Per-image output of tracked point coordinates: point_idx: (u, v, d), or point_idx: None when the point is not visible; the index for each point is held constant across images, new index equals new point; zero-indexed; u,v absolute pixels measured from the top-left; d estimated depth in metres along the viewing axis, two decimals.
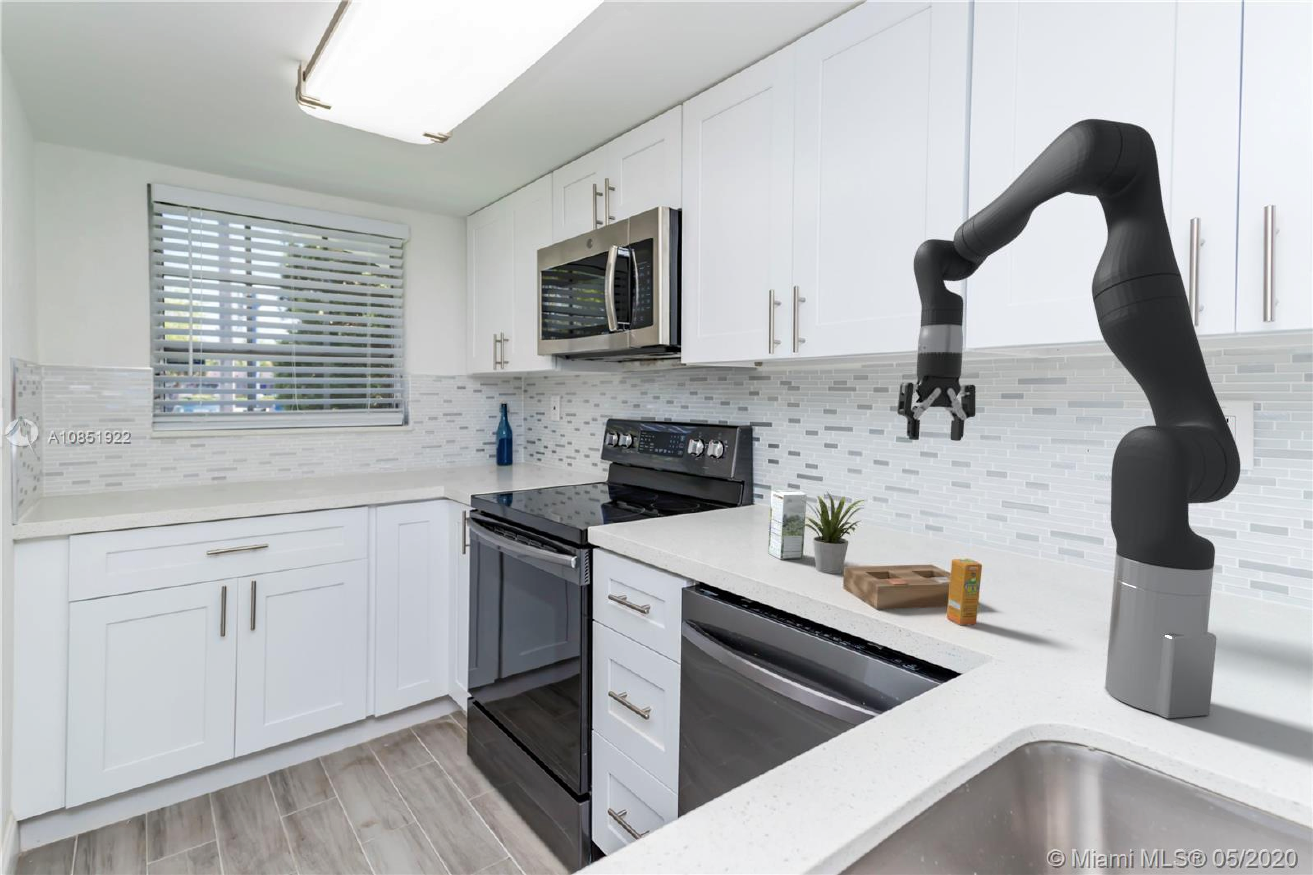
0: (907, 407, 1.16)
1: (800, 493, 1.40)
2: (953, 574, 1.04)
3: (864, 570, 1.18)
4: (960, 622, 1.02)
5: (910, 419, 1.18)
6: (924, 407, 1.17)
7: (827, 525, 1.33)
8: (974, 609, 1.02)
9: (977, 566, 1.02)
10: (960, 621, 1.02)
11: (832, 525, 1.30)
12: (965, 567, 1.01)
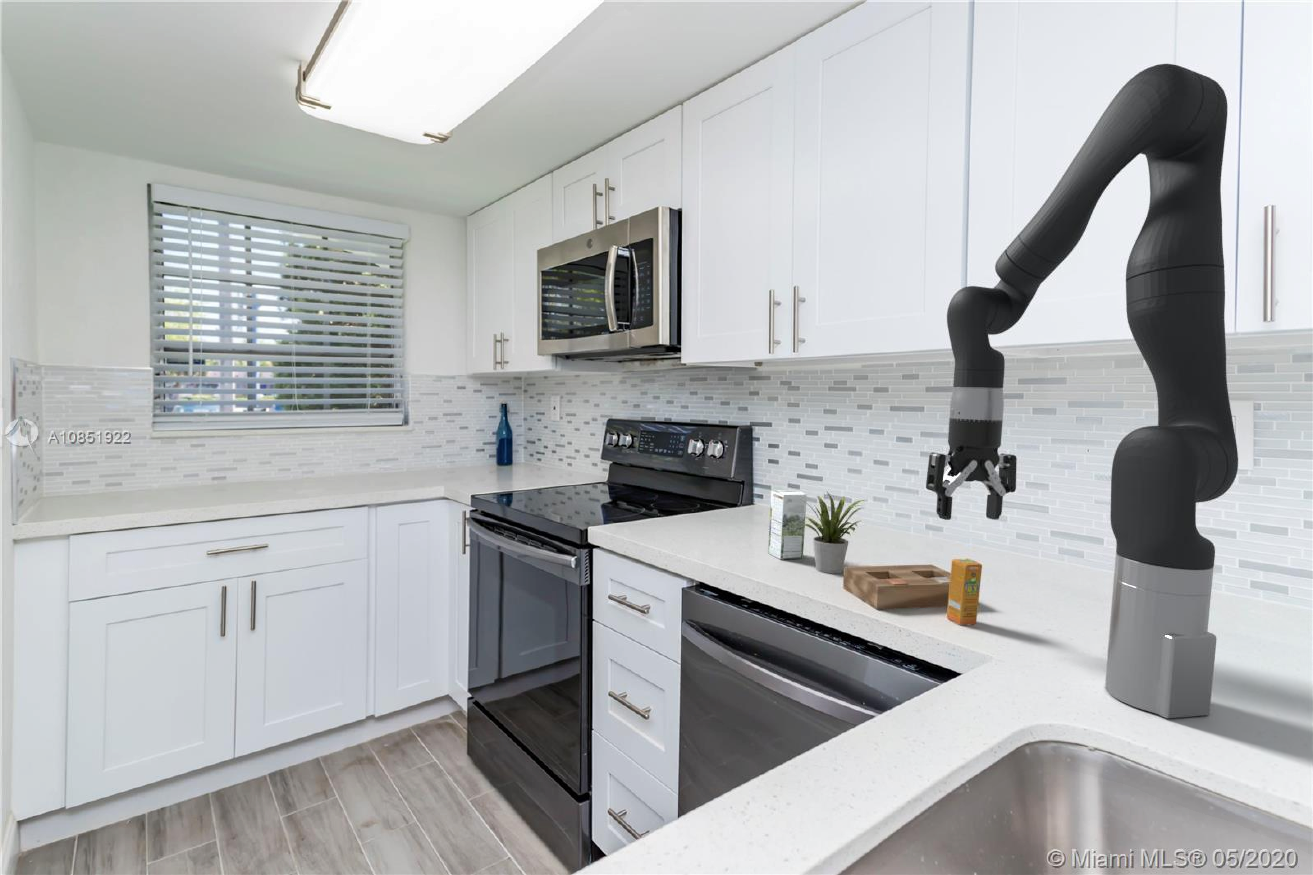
0: (938, 483, 1.00)
1: (800, 493, 1.40)
2: (953, 574, 1.04)
3: (864, 570, 1.18)
4: (960, 622, 1.02)
5: (941, 496, 1.01)
6: (958, 482, 1.00)
7: (827, 525, 1.33)
8: (974, 609, 1.02)
9: (977, 566, 1.02)
10: (960, 621, 1.02)
11: (832, 525, 1.30)
12: (965, 568, 1.01)
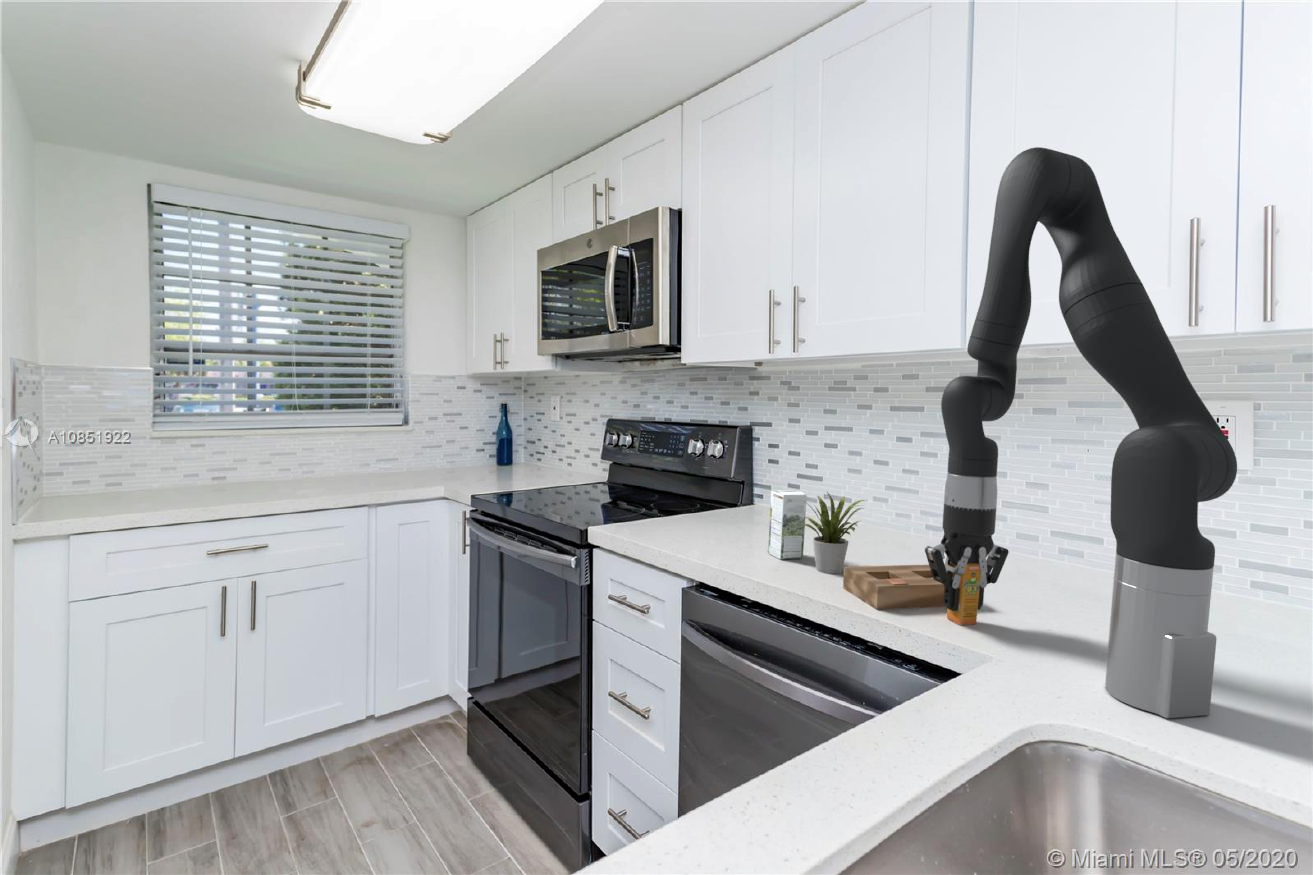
0: (943, 576, 1.01)
1: (800, 493, 1.40)
2: None
3: (864, 570, 1.18)
4: (960, 622, 1.02)
5: (948, 587, 1.02)
6: (960, 573, 1.01)
7: (827, 525, 1.33)
8: (974, 609, 1.02)
9: (977, 566, 1.02)
10: (960, 621, 1.02)
11: (832, 525, 1.30)
12: None
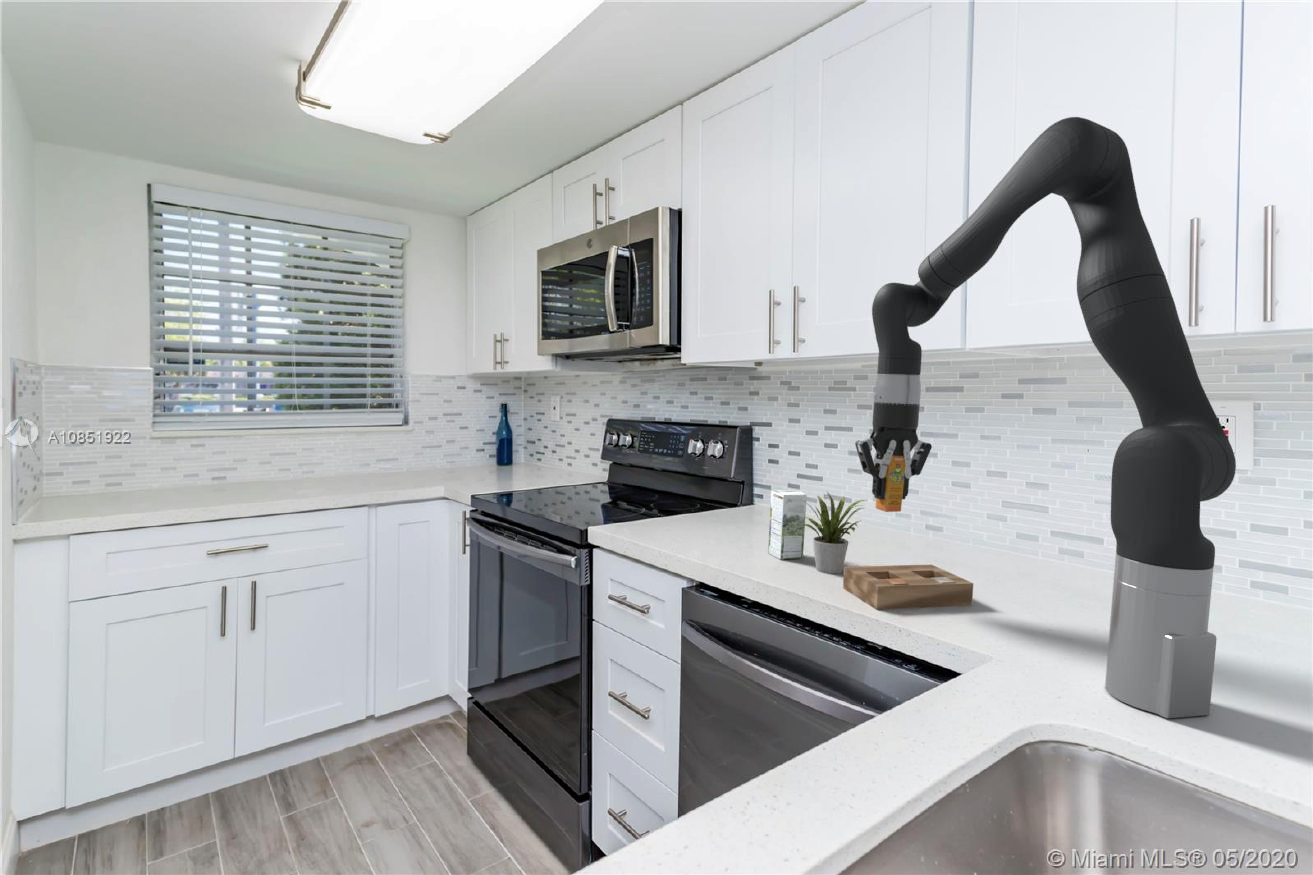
0: (870, 466, 1.11)
1: (800, 493, 1.40)
2: None
3: (864, 570, 1.18)
4: (886, 509, 1.12)
5: (875, 478, 1.13)
6: (886, 464, 1.11)
7: (827, 525, 1.33)
8: (899, 497, 1.13)
9: (901, 458, 1.12)
10: (886, 508, 1.12)
11: (832, 525, 1.30)
12: None
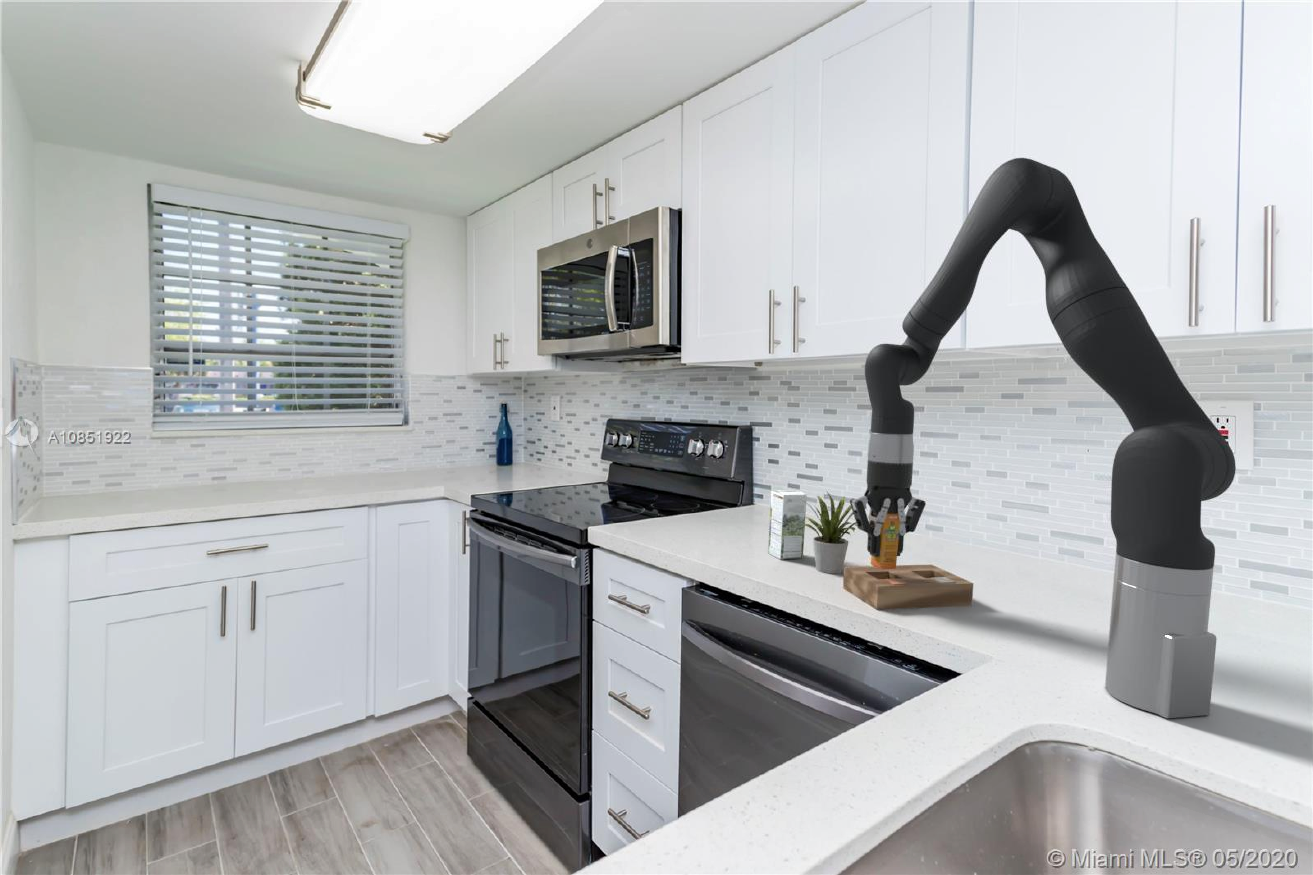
0: (865, 525, 1.12)
1: (800, 493, 1.40)
2: None
3: (864, 570, 1.18)
4: (881, 566, 1.13)
5: (870, 535, 1.13)
6: (880, 522, 1.12)
7: (827, 525, 1.33)
8: (894, 555, 1.14)
9: (896, 515, 1.13)
10: (881, 565, 1.13)
11: (832, 525, 1.30)
12: None
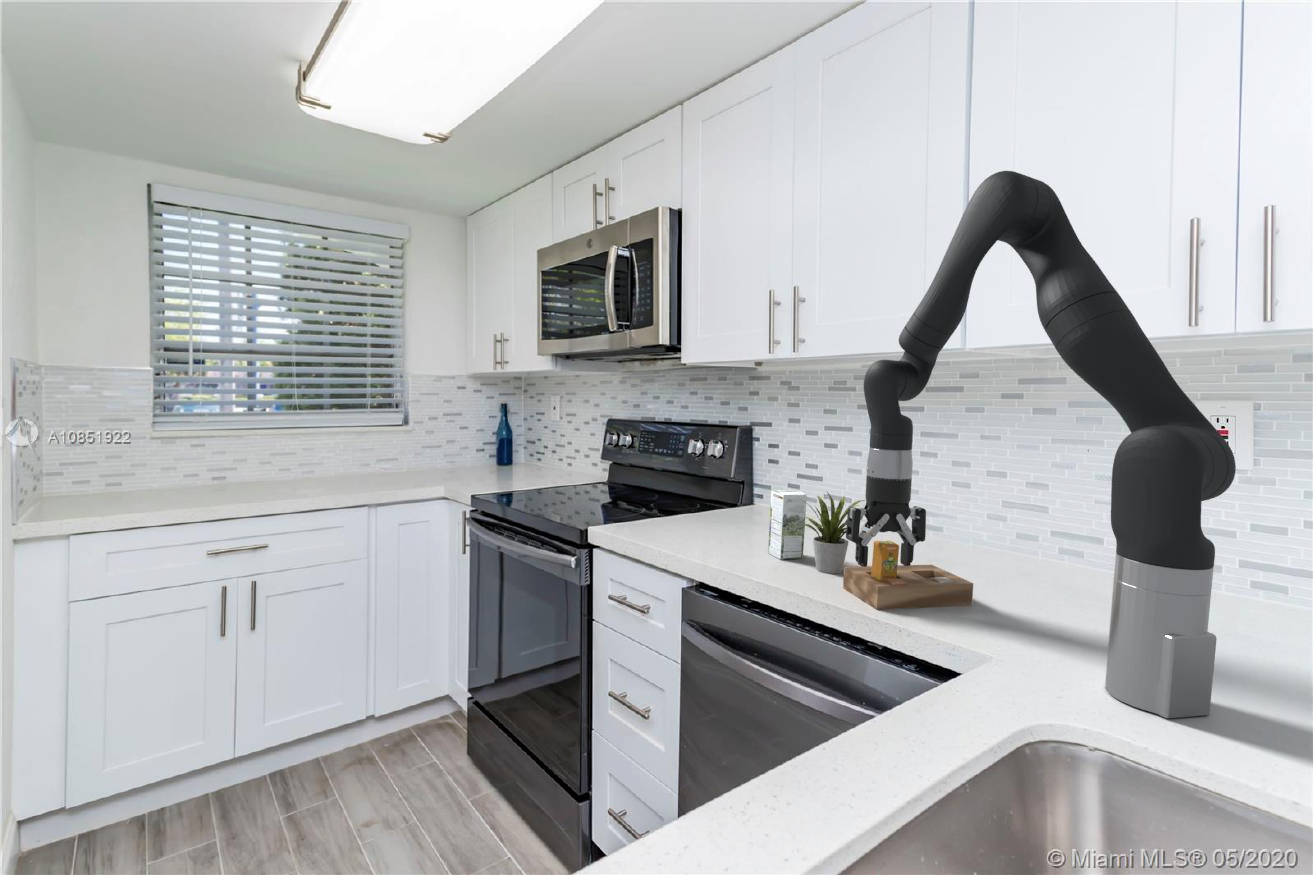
0: (855, 534, 1.12)
1: (800, 493, 1.40)
2: (874, 554, 1.15)
3: (864, 570, 1.18)
4: None
5: (858, 545, 1.13)
6: (872, 534, 1.12)
7: (827, 525, 1.33)
8: None
9: (894, 547, 1.13)
10: None
11: (832, 525, 1.30)
12: (883, 548, 1.13)
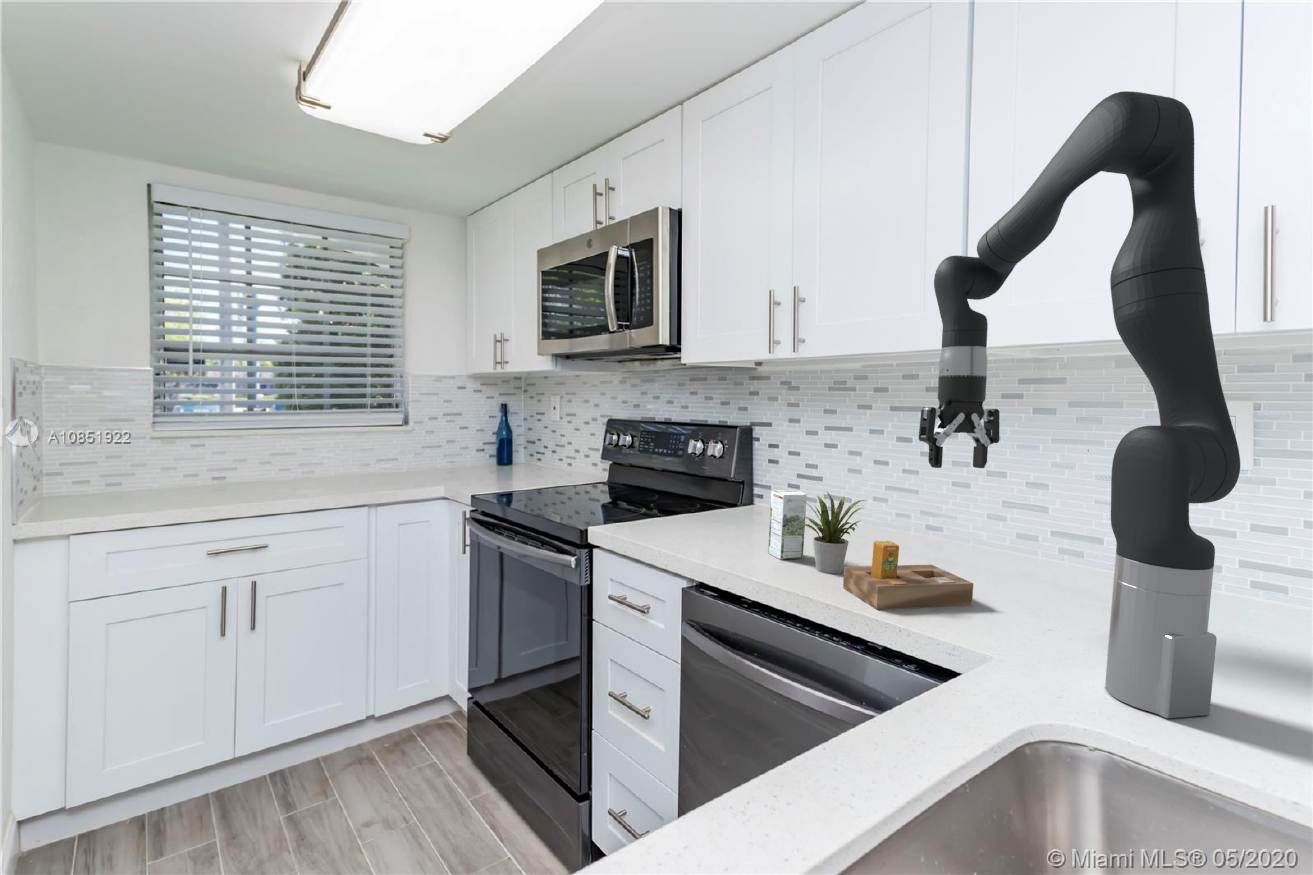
0: (930, 433, 1.09)
1: (800, 493, 1.40)
2: (874, 554, 1.15)
3: (864, 570, 1.18)
4: None
5: (932, 446, 1.11)
6: (947, 433, 1.10)
7: (827, 525, 1.33)
8: None
9: (894, 547, 1.13)
10: None
11: (832, 525, 1.30)
12: (883, 548, 1.13)
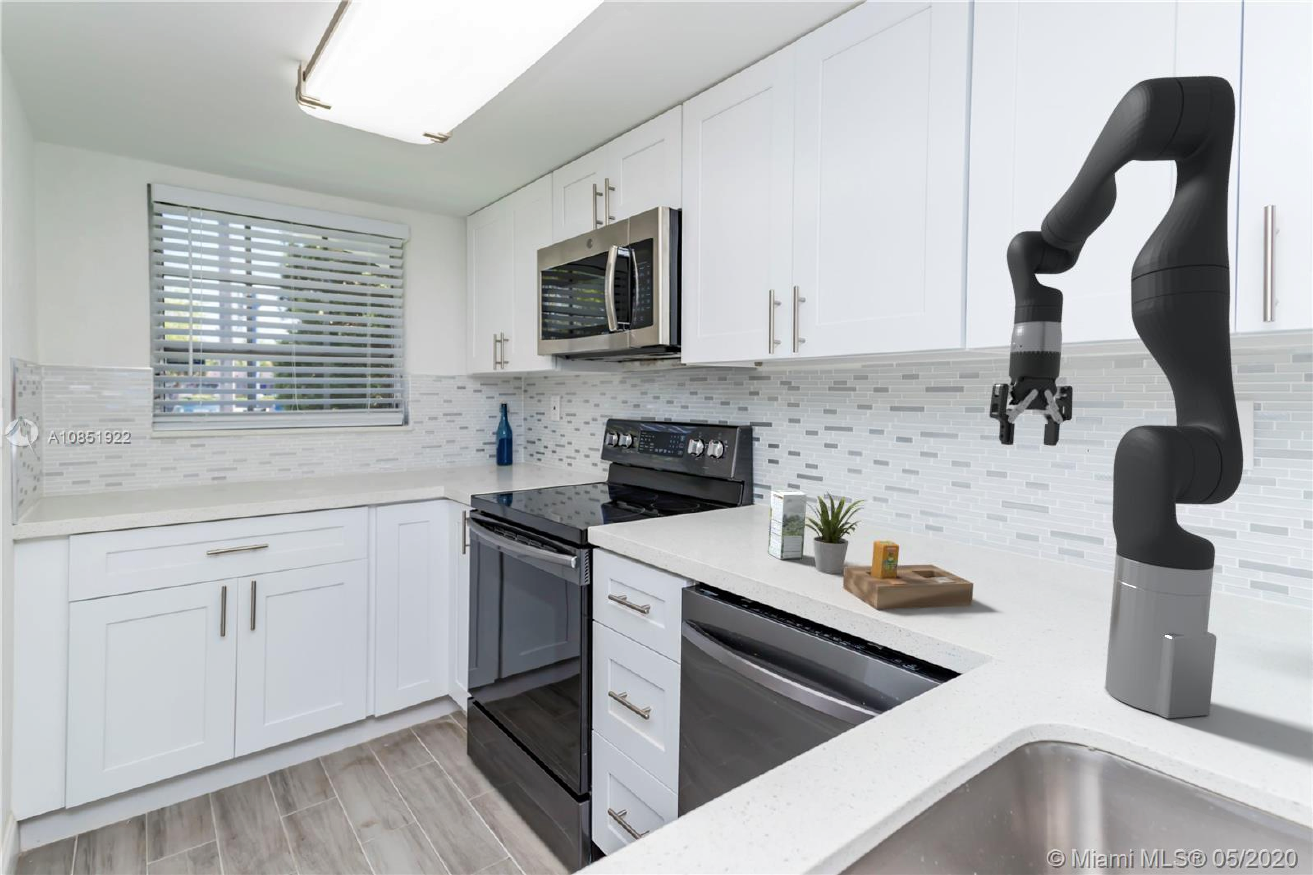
0: (1002, 410, 1.09)
1: (800, 493, 1.40)
2: (874, 554, 1.15)
3: (864, 570, 1.18)
4: None
5: (1004, 423, 1.10)
6: (1020, 410, 1.09)
7: (827, 525, 1.33)
8: None
9: (894, 547, 1.13)
10: None
11: (832, 525, 1.30)
12: (883, 548, 1.13)
